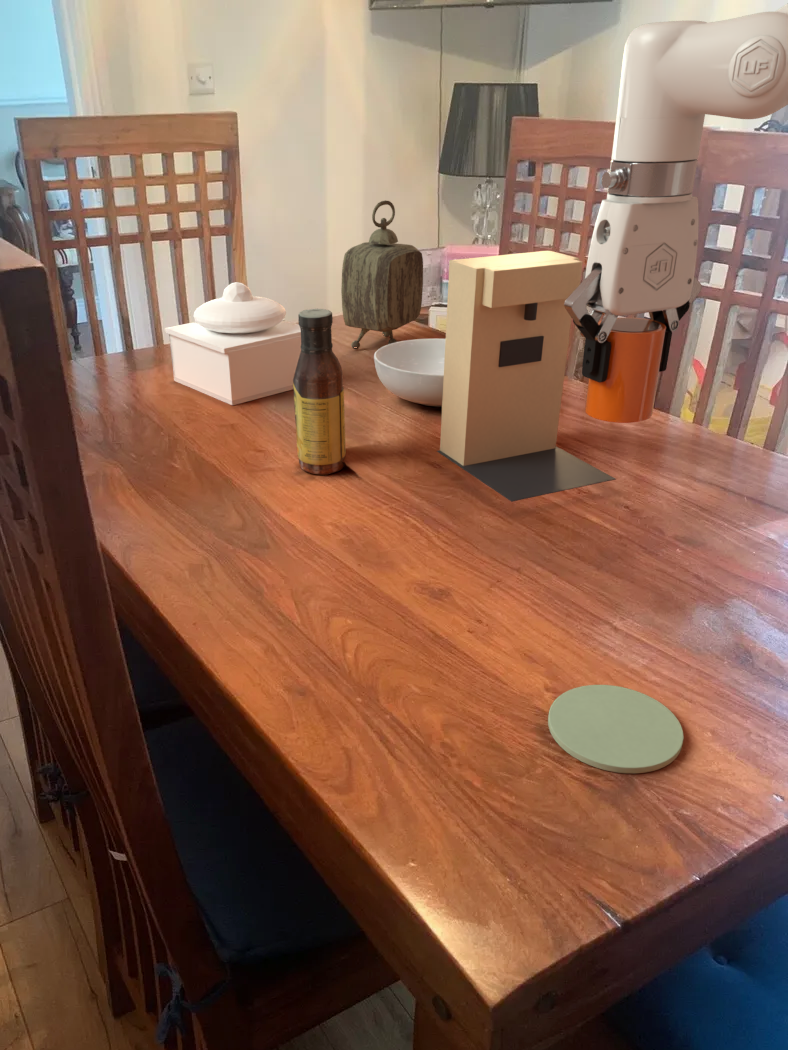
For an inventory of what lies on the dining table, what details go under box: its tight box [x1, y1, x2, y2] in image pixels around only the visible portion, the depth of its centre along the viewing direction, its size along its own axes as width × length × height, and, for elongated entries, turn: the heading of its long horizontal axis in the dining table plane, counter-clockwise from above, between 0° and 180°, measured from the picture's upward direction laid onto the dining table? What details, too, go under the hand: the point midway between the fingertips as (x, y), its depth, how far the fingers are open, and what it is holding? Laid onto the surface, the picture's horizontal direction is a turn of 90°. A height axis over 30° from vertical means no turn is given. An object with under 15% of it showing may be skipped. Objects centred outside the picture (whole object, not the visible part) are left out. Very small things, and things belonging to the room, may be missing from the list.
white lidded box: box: [164, 281, 301, 406], centre depth 140 cm, size 18×18×16 cm
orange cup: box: [584, 317, 666, 424], centre depth 89 cm, size 7×7×9 cm
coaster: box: [547, 684, 685, 775], centre depth 67 cm, size 10×10×1 cm
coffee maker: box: [436, 250, 616, 503], centre depth 103 cm, size 18×15×25 cm
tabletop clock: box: [340, 200, 424, 350], centre depth 157 cm, size 14×9×25 cm, turn 145°
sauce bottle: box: [292, 308, 347, 476], centre depth 107 cm, size 6×6×20 cm
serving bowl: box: [373, 337, 446, 408], centre depth 134 cm, size 21×21×7 cm
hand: (623, 372), depth 89 cm, fingers closed on orange cup, 6 cm apart
